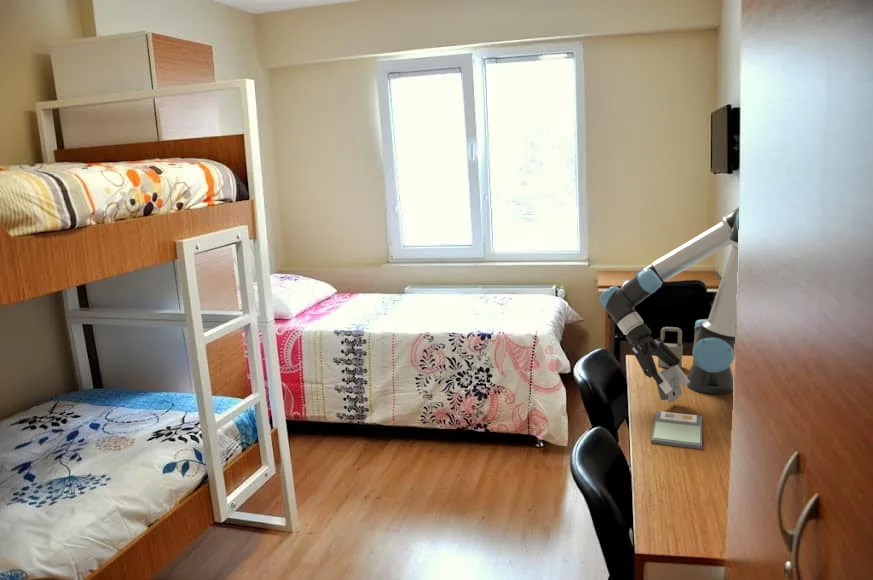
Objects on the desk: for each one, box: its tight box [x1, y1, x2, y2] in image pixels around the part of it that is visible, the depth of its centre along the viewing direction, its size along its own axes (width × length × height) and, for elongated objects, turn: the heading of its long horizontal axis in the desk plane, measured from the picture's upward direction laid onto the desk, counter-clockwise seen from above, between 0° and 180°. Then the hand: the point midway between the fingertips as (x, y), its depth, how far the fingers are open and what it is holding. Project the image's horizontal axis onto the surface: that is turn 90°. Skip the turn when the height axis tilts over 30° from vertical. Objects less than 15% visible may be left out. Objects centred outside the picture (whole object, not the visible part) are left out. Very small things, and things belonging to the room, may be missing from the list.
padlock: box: [657, 326, 684, 369], centre depth 248 cm, size 4×8×15 cm, turn 66°
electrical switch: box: [655, 366, 683, 403], centre depth 210 cm, size 9×5×9 cm, turn 141°
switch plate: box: [650, 410, 703, 450], centre depth 192 cm, size 22×13×1 cm, turn 159°
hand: (678, 387), depth 207 cm, fingers closed on electrical switch, 9 cm apart
